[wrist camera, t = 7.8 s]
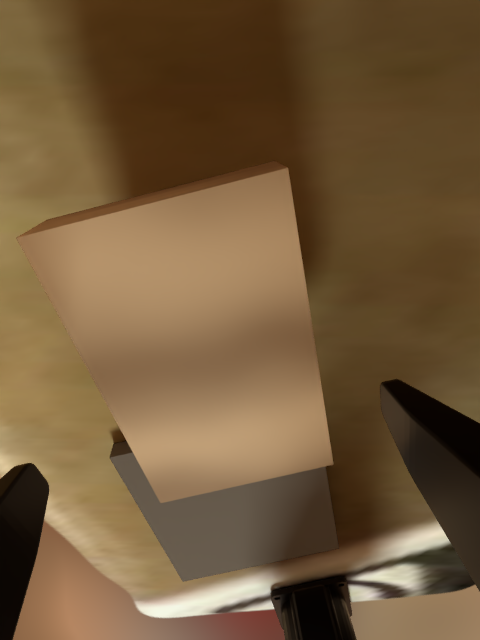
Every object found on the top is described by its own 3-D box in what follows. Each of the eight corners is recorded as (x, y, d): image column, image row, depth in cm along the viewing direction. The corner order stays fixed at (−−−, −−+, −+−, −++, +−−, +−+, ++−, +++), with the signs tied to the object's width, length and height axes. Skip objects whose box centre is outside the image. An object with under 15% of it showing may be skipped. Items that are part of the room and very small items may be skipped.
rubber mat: (334, 535, 28) (339, 548, 27) (183, 567, 28) (182, 581, 27) (311, 398, 21) (316, 410, 20) (113, 444, 21) (109, 457, 20)
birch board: (319, 427, 16) (333, 464, 14) (165, 462, 16) (160, 503, 14) (274, 160, 11) (287, 168, 9) (47, 219, 11) (15, 238, 9)
